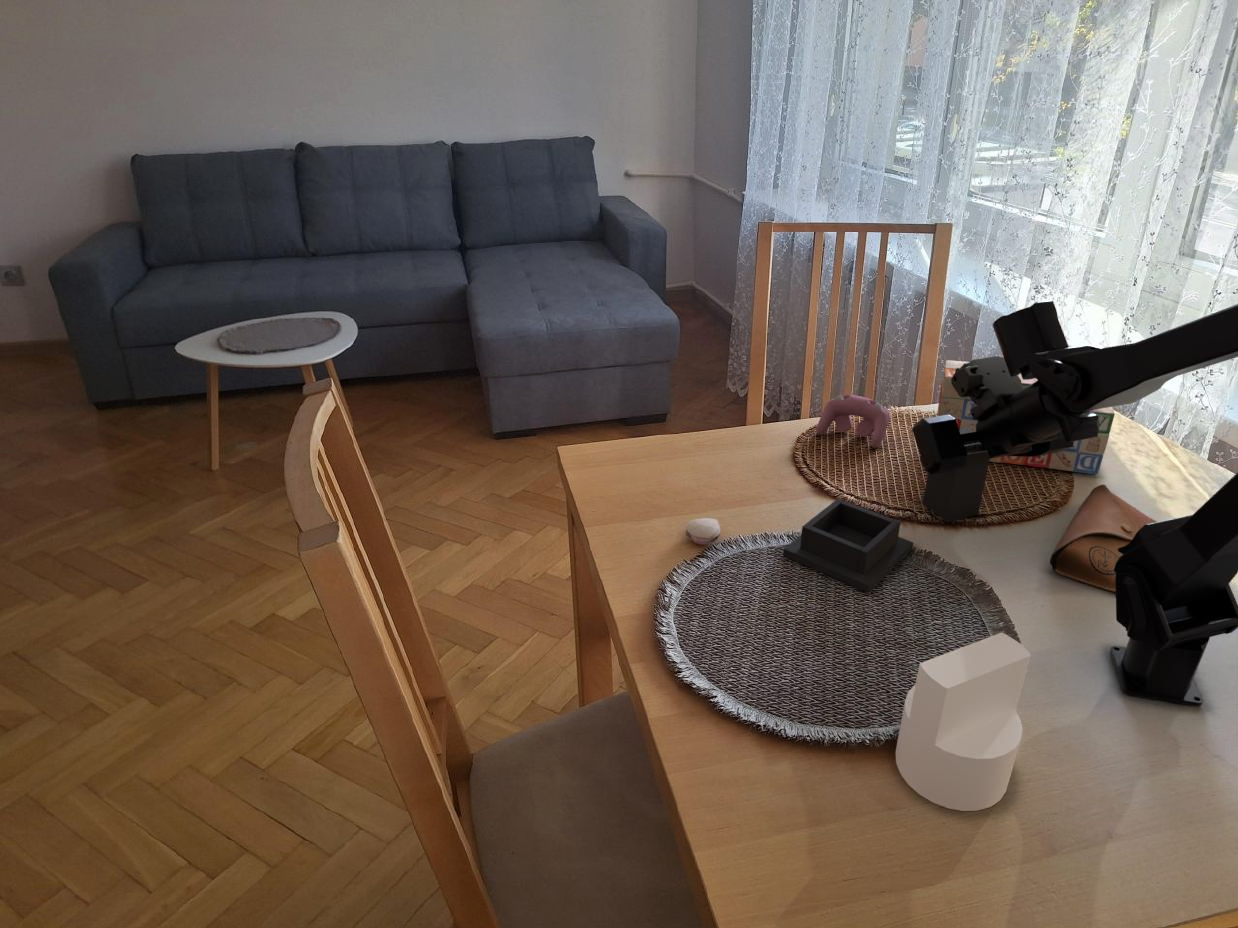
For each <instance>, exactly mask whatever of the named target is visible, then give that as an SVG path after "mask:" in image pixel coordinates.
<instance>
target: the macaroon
mask: <svg viewBox="0 0 1238 928" xmlns="http://www.w3.org/2000/svg"><path fill="white" fill-rule="evenodd" d="M684 528H685V536H686V537H687V538H688V539H689V540H690V541H691V542H693V543H695V545H696V544H698V545H702V546H703V545H710V544H714V543H716V542H717V541H718V539H719V537H720V536H721V526H720V523H719V522H718V520H717V519H716V518H709V517H702V518H697V519H692V520H689V521H688V522H687V523H686V525H685V527H684Z"/></svg>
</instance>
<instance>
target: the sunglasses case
mask: <svg viewBox="0 0 1238 928" xmlns="http://www.w3.org/2000/svg"><path fill="white" fill-rule="evenodd" d="M1156 522H1157V521H1156V520H1155V519H1153V518H1151V517H1149V515H1146V514H1145V513H1143V511H1141V510H1139V509H1138V508H1136V507H1135V506H1133V505H1131V504H1130V503H1128V502H1127V501H1126V500H1124V499H1122V498H1121V497H1119V496H1117V495H1116V494H1115V493H1113V492H1112V491H1111V490H1110V489H1109V488H1108V487H1107V485H1106V484H1099V485H1097V486H1096V487H1094V488H1092V490H1091V491H1090V492H1089V494H1088V495H1087V497H1086V498H1085V499H1084V500H1083V502H1082V504H1081V505H1080V507H1079V508H1078V510H1077V511H1076V512H1075V514H1074V516H1073V517H1072V519H1071V520H1070V523H1068V526H1067V527H1066V529H1065V530H1064V532H1063V534H1062V535H1061V537H1060V539H1059V540H1058V542H1057V545H1055V547H1054V549H1053V552H1052V553H1051V556H1050V560H1049V564H1050V565H1051V568H1052V570H1053V571H1054V572H1055V573H1056V574H1057V575H1060V576H1063V577H1065V578H1068V579H1070V580H1073V581H1074V582H1078V583H1079V584H1080V583H1081V584H1082V585H1083V584H1084V585H1086V586H1090V587H1093V588H1097V589H1100V590H1105V591H1108V592H1112V593H1116V587H1115V578H1116V573H1115V572H1114V567H1115V564H1116V562H1117V560H1118V559H1119V557H1120V556H1122V555H1123V554H1122V553H1120V552H1119V551H1118V548H1120V547H1124V546H1126V545H1127V544H1129V543H1130V542H1131V541H1132V539H1133V538H1134V536H1135V535H1136V533H1137V532H1138V530H1140V529H1141V528H1142V527H1143V526H1144V525H1146V524H1151V523H1156Z"/></svg>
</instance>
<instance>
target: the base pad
mask: <svg viewBox="0 0 1238 928" xmlns="http://www.w3.org/2000/svg"><path fill="white" fill-rule="evenodd" d="M900 529H901V521H899V520H896V519H894V518H892V517H889V516H886V515H883V514H881V513H878V512H875V511H873V510H870V509H867V508H864V507H862V506H859V505H857V504H854V503H851V502H848V501H846V500H844V499H840V498H836V499H835V500H834V501H833V502H831V503H830V504H829V505H828V506H826V507H825V508H824V509H823V510H821V511H820V512H819V513H818V514H816V515H815V516H814V517H813V518H811V519H810V520H809V521H807V522H806V523H805V524H803V525H802V526H801V534H800V535H799V536H798V537H797V538H795V539H794V540H792V541H791V542H790V543H789V544H788V545H786V546H785V547H784V548H783V550H782V551H783V553H782V556H783V557H786V558H788V559H790V560H792V561H794V562H797V563H798V564H800V565H801V564H802V565H804V566H806V567H808V568H811V569H813V570H815V571H818V572H820V573H821V574H824V575H827V576H829V577H831V578H833V579H836V580H838V581H840V582H843V583H845V584H847V585H850V586H851V587H854V588H856V589H858V590H860V591H862V592H865V593H869V592H871V590H873V588H874V587H875V586H877V585H878V584H879V583H880V582H881V581H882V580H883V579H884V578H885V577H886V576H887V575H888V574H889V573H890V572H891V571H892V570H893V569H894V568H895V567H896V566H897V565H898V564H899V563H901V562H902V560H903V559H904V558H905V557H906V556H907V555H908V554H909V553H910V552H911V551H912V550H913V548H914V541H911V540H909V539H907V538H903V537H902V536H899V535H900Z"/></svg>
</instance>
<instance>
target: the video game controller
mask: <svg viewBox="0 0 1238 928" xmlns="http://www.w3.org/2000/svg"><path fill="white" fill-rule="evenodd" d="M851 416H854V417H855V416H856V417H860V418H863V419H862V420H860V421H859V422H858V423H857V424H856V428H855V429H856V430H855V431H856V433H857V434H858V435H859V436H861V437H865V438H866V437H870V436H871V435H872V437H871V445H872V448H874V449H877V448H878V447H880V445H881V444H882V442H883V440H884V437H885V435H886V433H887V429H888V425H889V423H890V421H891V413H890V411H889V409H888V408H887V407H885V406H884V405H882V404H881V403H880V402H878V401H876V400H874V399H871V398H869V397H866V396H861V395H853V394H850V395H847V394H846V395H836V396H835V397H832V398H831V399H830V400H828V402H827V403H826V405H825V406H824V408H823V411H822V413H821V415H820V417H819V420H818V423H817V426H816V427H817V428H816V433H817V435H818V436H823V435H824V434H825V433H826V432H827V431H828V429H829V428H830V426H831V425H832V423H833V422H834V423H835V427H836V429H837V430H838V431H839V432H844V433H846V432H849V431H851V429H852V428H853V420H852V418H851Z"/></svg>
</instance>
